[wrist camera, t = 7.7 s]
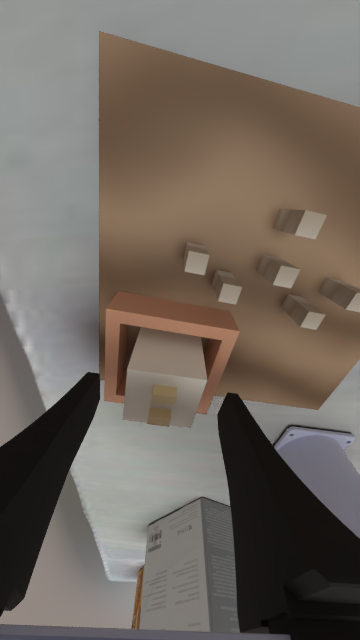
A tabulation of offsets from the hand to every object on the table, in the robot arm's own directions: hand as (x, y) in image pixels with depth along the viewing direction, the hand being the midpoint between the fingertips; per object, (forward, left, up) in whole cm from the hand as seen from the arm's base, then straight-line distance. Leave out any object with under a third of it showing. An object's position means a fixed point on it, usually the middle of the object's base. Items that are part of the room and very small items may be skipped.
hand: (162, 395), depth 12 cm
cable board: (+5, -5, -6) cm, 9 cm away
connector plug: (0, 0, -5) cm, 5 cm away
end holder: (0, 0, -5) cm, 5 cm away
